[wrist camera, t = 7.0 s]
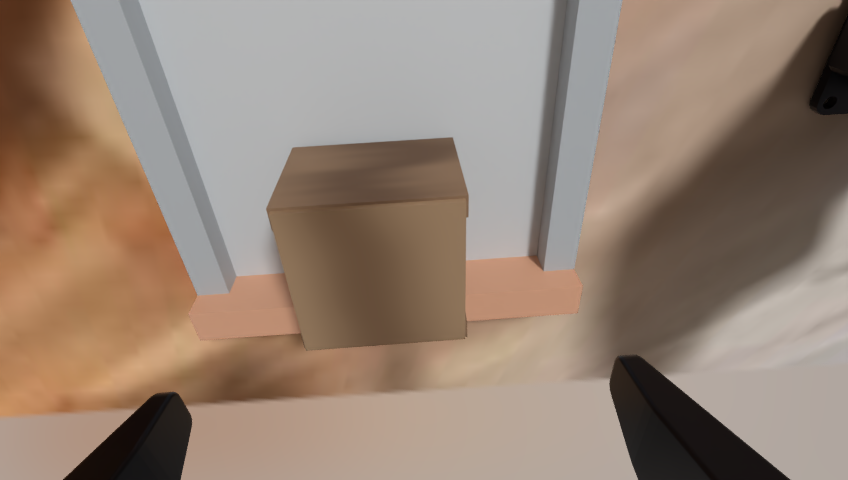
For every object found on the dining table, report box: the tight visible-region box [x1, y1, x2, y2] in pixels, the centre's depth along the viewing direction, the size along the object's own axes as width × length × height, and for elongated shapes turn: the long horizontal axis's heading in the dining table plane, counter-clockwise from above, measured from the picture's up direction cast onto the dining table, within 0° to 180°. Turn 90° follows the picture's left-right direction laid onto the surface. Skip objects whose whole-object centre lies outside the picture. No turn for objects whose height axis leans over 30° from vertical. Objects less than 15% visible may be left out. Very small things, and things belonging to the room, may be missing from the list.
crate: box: [266, 137, 469, 351], centre depth 18 cm, size 6×6×5 cm
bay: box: [71, 0, 622, 340], centre depth 17 cm, size 17×18×3 cm
